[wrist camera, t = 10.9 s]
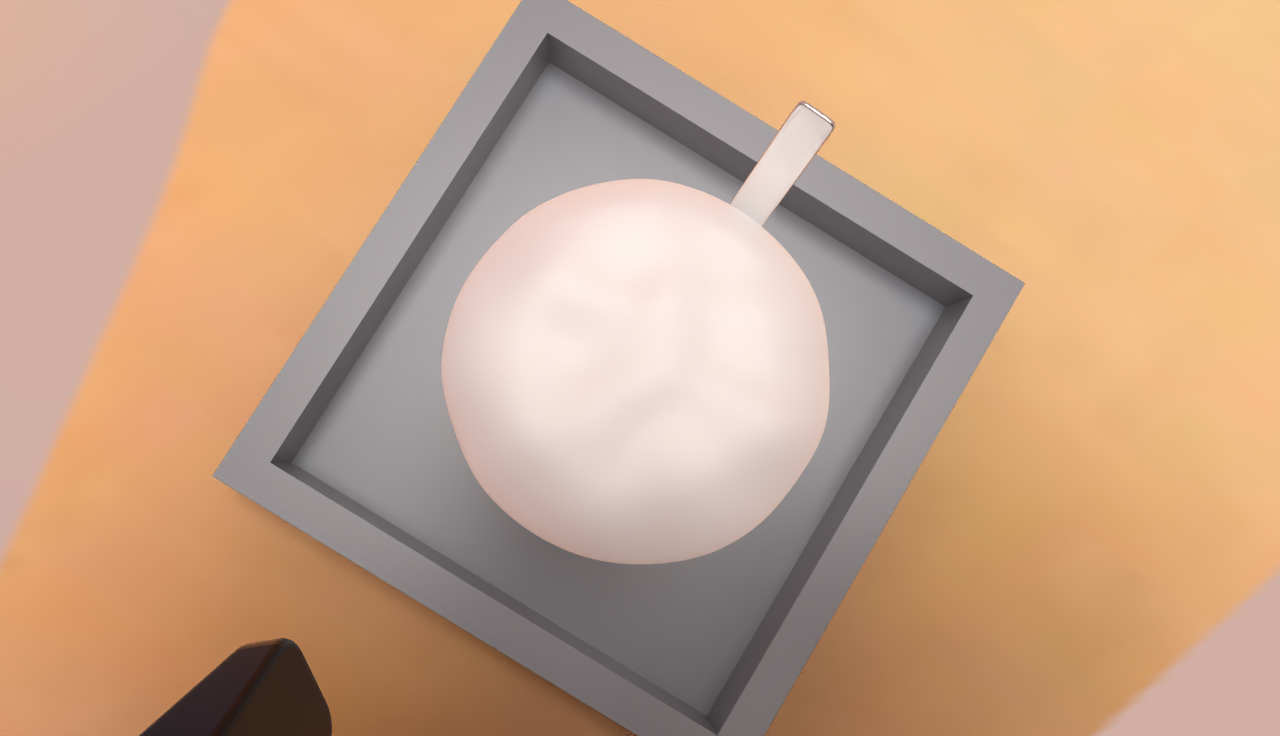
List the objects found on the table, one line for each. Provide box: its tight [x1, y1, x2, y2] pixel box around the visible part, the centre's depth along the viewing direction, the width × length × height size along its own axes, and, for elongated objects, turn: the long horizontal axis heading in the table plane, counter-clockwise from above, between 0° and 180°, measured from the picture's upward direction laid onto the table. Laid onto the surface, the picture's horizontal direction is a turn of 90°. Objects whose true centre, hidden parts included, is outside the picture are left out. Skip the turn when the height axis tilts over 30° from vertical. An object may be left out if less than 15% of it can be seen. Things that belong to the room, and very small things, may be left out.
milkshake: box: [441, 101, 835, 564], centre depth 16 cm, size 4×5×10 cm
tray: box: [213, 0, 1025, 736], centre depth 21 cm, size 10×10×2 cm
